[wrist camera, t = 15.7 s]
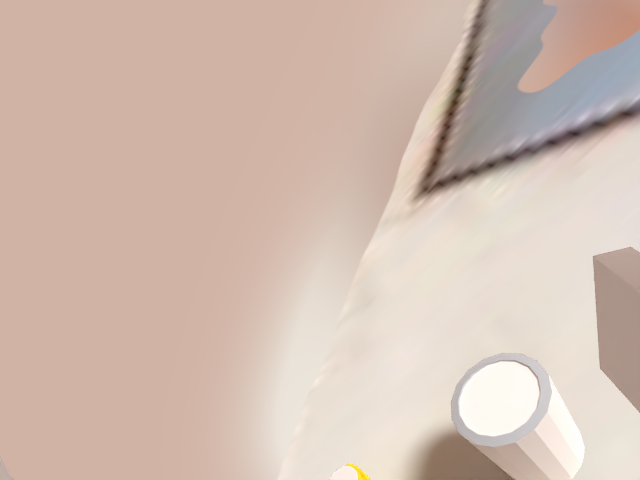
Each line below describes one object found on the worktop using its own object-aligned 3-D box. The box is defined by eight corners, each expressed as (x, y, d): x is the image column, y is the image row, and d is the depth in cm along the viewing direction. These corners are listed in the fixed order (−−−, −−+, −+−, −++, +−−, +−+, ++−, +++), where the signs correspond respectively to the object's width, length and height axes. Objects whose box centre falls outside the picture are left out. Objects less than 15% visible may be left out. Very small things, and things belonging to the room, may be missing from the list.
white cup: (592, 403, 39) (552, 344, 36) (596, 501, 35) (550, 443, 31) (500, 411, 43) (456, 358, 40) (492, 499, 39) (442, 448, 36)
